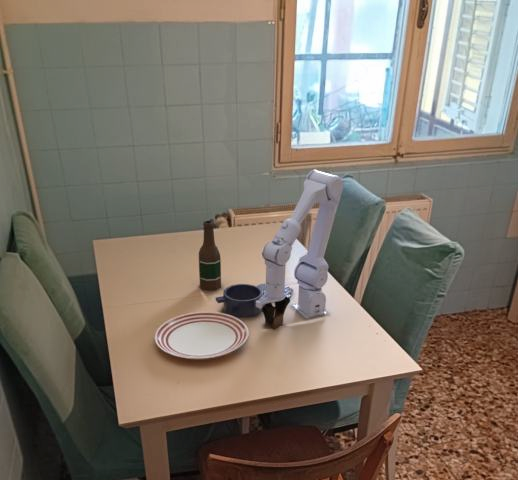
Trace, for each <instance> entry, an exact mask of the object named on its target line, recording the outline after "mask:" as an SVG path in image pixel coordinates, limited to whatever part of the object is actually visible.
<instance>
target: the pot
mask: <svg viewBox="0 0 518 480" xmlns="http://www.w3.org/2000/svg"><path fill="white" fill-rule="evenodd" d="M257 286H258V285H254V284H249V283H237V284H231V285H229V286H227V287H226V288H225V289H223V292H222V295H221V296H217V297H215V301H216V303H217V304H222V303H223V312H224V314H228V315H231V316H234V317H236V318H238V319H248V318H253V317H256V316H258V315H260V314H261V313H263V311H262V309H260V308H257V307H256V301H257V300H259V299H260V298H261V297H262V296H263V295H264V291H266V288H265V289H260V288H259V287H257Z"/></svg>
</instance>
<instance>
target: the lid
mask: <svg viewBox="0 0 518 480" xmlns="http://www.w3.org/2000/svg"><path fill="white" fill-rule="evenodd" d="M256 286H257V287H259V288H260V289H265V288H266V282H265V283H261V284H258V285H256ZM286 287H289V286H288V285H286V284H285V288H286ZM287 297H288V298H290V299H291V297H292V295H290V294H289V295H287Z"/></svg>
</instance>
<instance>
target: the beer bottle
mask: <svg viewBox="0 0 518 480" xmlns="http://www.w3.org/2000/svg"><path fill="white" fill-rule="evenodd" d="M214 226H215V224H214V221H213V220H204V221H203V223H202V227H203V242H202V245H201V247H200V248H199V251H198V269H199V270H198V272H199V287H200V290H203V291H205V292H206V291H207V292H213V291H217V290H220V289H221V288H222V266H221V265H222V263H221V261H222V259H221V253H220V250H219V248H218V246H217V245H216V242H215V241H216V240H215V231H214Z"/></svg>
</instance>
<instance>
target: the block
mask: <svg viewBox="0 0 518 480" xmlns="http://www.w3.org/2000/svg"><path fill="white" fill-rule="evenodd" d="M264 324H265V325H267V326H269V327H270V329H271V330H276V329H278V328H281V327H282V326H283V324H284V315H283V314H282V313H280V312H278V311H276V310H275V311H274V315H273V323H272V325H269V324H267V323H266V321H265V320H264Z"/></svg>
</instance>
